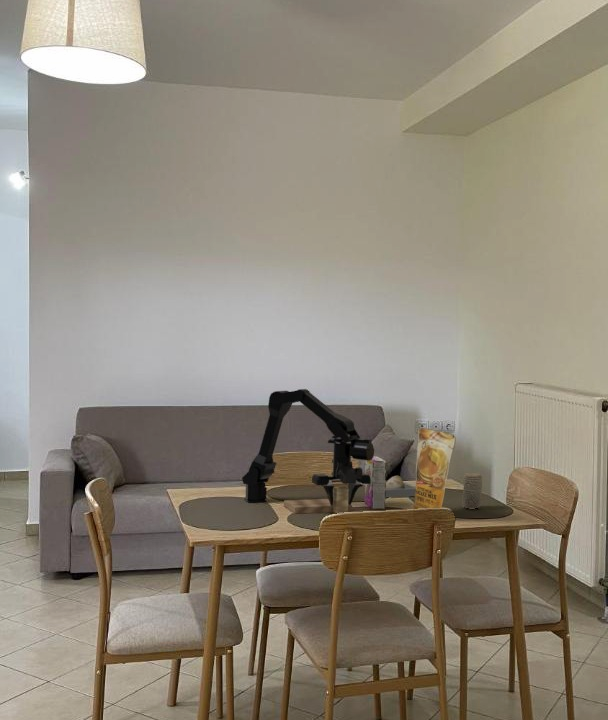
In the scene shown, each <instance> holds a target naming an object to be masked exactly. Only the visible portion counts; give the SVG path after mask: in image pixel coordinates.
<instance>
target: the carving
mask: <svg viewBox="0 0 608 720" xmlns="http://www.w3.org/2000/svg"><path fill="white" fill-rule="evenodd" d="M482 488H483V477H482V475H481V474H480V473H475V472H473V473H472V472H471V473H469V472H467V473H464V475H463V490H462V498H461V500H462V507H463V508H464V507H465V508H478V507H479V508H480V507H482ZM465 508H464V509H465ZM479 508H478V509H479Z"/></svg>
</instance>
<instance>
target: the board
mask: <svg viewBox="0 0 608 720" xmlns="http://www.w3.org/2000/svg"><path fill="white" fill-rule="evenodd" d="M283 507H284V508H286V509H287V510H289V511H290V512H291V513H293V514H295V515H299V514H316V513H317V514H320V513H334V512H333V506H331V505H330V502H329V499H328V498H321V499H320V498H316V499H315V498H314V499H292V500H291V499H290V500H289V499H288V500H284V499H283ZM348 512H353V505H352V504H351V505H348Z"/></svg>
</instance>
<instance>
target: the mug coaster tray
mask: <svg viewBox="0 0 608 720" xmlns="http://www.w3.org/2000/svg"><path fill="white" fill-rule="evenodd" d="M404 485H405V489H386V495H385V497H399V498H410V497H409V496H415V492H416V486H414V485H411V484H408V483H406V482H404Z"/></svg>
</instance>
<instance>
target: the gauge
mask: <svg viewBox="0 0 608 720" xmlns="http://www.w3.org/2000/svg"><path fill="white" fill-rule="evenodd" d="M348 491H349V489H348V487H346V486H336V487H335V486H334V488H333V512H332V513H335V514H336V513H338V514H340V513H339V512H348V513H349V511H348Z"/></svg>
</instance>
